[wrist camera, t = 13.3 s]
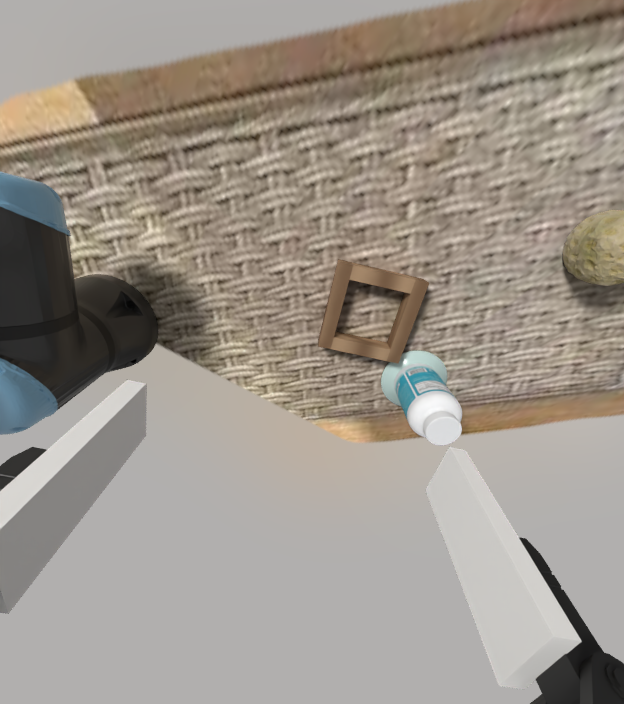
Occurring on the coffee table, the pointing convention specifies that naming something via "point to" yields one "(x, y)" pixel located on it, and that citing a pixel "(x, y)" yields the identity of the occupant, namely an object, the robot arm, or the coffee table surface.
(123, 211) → the coffee table surface
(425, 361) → the coaster
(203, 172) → the coffee table surface
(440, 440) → the pill bottle
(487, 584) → the robot arm
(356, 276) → the walnut frame
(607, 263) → the decorative object
